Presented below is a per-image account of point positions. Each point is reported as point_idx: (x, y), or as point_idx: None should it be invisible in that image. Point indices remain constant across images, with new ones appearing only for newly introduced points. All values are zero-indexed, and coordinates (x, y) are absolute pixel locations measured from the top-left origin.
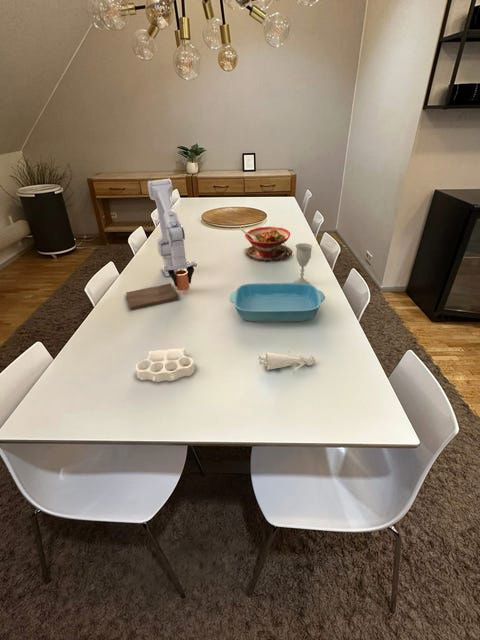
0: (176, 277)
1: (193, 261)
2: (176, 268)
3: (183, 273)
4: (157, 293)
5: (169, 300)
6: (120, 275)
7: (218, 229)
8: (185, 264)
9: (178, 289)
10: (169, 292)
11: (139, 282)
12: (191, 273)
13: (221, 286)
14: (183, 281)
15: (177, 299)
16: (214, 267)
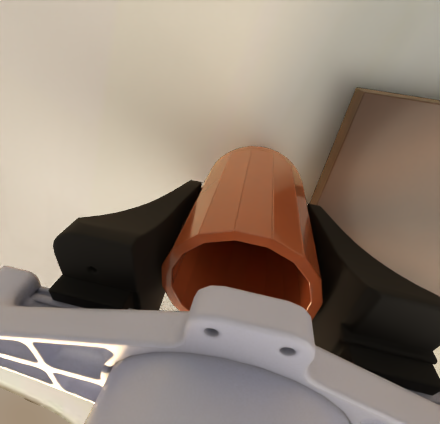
0: (316, 256)
1: (2, 365)
2: (353, 387)
3: (206, 283)
4: (437, 233)
5: (435, 101)
6: None
7: (37, 400)
8: (120, 389)
9: (301, 180)
10: (363, 198)
11: None
12: (132, 216)
13: (13, 96)
14: (259, 185)
15: (361, 88)
16: (51, 283)
